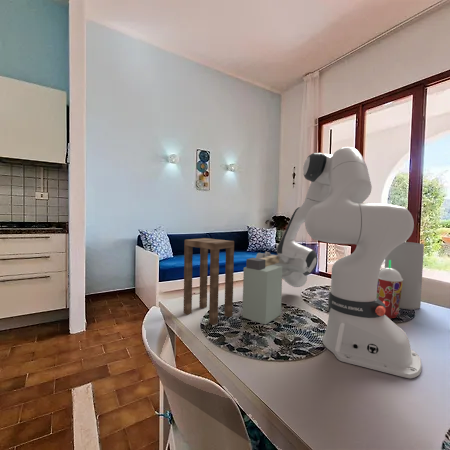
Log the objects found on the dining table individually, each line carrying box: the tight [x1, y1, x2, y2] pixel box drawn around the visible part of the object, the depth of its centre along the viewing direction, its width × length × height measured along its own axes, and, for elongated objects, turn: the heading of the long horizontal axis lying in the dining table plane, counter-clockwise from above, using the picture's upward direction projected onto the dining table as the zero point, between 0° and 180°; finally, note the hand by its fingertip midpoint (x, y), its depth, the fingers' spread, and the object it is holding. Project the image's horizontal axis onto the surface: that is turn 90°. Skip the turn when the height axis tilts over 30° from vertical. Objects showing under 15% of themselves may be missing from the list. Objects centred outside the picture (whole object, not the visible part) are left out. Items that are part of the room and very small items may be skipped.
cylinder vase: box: [384, 241, 425, 311], centre depth 104 cm, size 12×12×25 cm
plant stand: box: [183, 237, 235, 326], centre depth 90 cm, size 14×10×26 cm
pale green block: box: [242, 265, 283, 326], centre depth 90 cm, size 9×11×17 cm
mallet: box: [245, 254, 279, 270], centre depth 92 cm, size 17×5×3 cm, turn 142°
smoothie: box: [377, 260, 403, 319], centre depth 93 cm, size 8×8×20 cm
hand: (272, 254), depth 97 cm, fingers open, 4 cm apart
